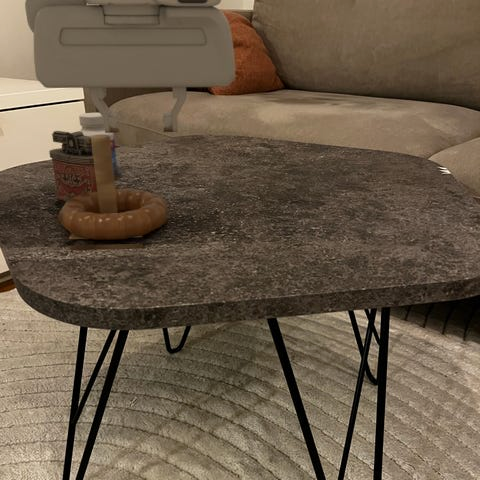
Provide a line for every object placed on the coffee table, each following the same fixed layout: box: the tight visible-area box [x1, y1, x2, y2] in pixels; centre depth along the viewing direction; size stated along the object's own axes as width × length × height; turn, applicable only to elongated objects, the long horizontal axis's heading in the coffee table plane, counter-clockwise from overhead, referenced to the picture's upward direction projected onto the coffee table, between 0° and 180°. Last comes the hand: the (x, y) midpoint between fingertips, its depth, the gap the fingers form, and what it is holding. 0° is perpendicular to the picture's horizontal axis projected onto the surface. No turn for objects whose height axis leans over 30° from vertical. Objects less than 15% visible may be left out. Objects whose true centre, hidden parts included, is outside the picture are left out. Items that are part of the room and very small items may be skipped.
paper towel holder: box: [68, 134, 145, 251], centre depth 66 cm, size 8×8×12 cm
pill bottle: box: [78, 112, 118, 175], centre depth 88 cm, size 6×5×10 cm
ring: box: [58, 188, 169, 241], centre depth 68 cm, size 12×12×3 cm
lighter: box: [48, 130, 97, 203], centre depth 76 cm, size 8×3×10 cm, turn 59°
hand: (142, 131), depth 64 cm, fingers open, 5 cm apart
